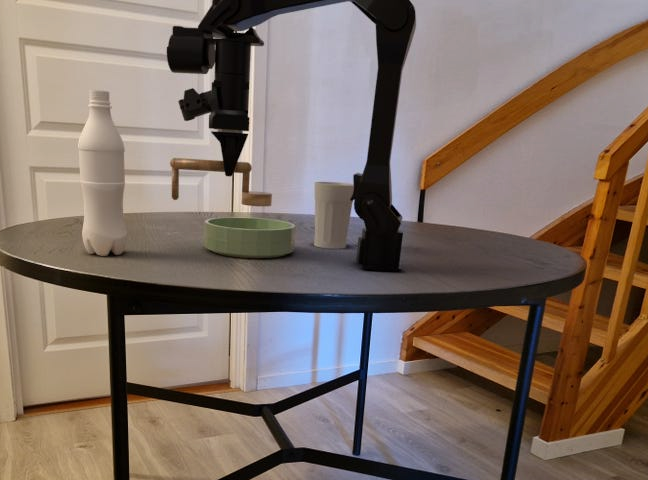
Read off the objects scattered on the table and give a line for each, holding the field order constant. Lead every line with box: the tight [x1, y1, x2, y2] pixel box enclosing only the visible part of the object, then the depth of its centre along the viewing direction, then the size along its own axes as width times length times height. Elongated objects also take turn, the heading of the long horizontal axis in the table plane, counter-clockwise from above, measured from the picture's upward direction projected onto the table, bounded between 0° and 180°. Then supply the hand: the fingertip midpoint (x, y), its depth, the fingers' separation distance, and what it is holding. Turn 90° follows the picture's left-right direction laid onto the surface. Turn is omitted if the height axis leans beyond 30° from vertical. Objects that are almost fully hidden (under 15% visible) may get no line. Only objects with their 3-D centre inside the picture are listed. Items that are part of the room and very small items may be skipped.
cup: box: [313, 181, 354, 250], centre depth 120 cm, size 8×8×12 cm
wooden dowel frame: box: [169, 157, 273, 207], centre depth 105 cm, size 18×5×7 cm, turn 92°
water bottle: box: [77, 89, 128, 257], centre depth 99 cm, size 7×7×25 cm
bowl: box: [203, 216, 296, 259], centre depth 112 cm, size 16×16×5 cm
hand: (228, 175), depth 105 cm, fingers closed on wooden dowel frame
